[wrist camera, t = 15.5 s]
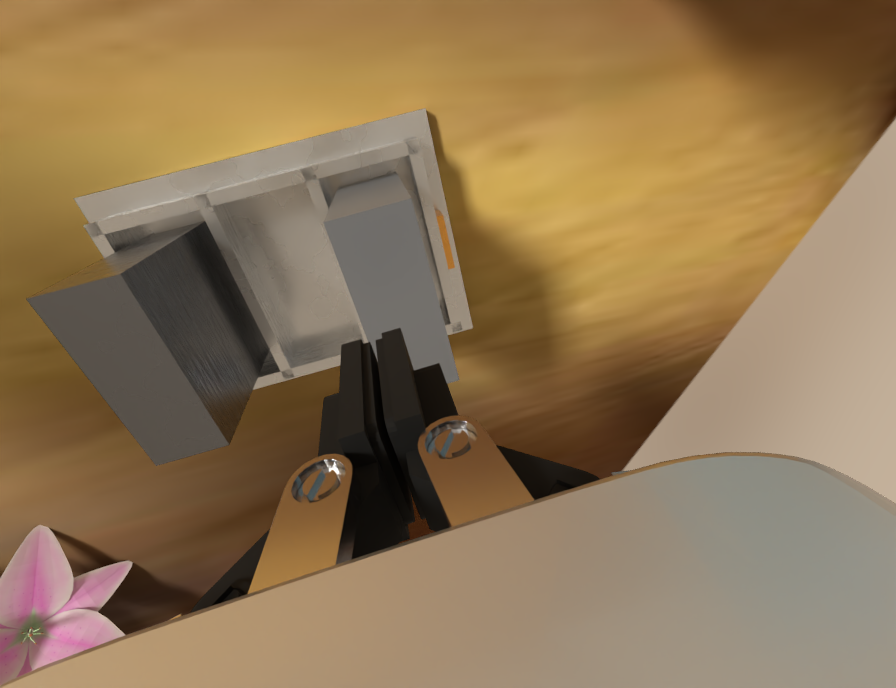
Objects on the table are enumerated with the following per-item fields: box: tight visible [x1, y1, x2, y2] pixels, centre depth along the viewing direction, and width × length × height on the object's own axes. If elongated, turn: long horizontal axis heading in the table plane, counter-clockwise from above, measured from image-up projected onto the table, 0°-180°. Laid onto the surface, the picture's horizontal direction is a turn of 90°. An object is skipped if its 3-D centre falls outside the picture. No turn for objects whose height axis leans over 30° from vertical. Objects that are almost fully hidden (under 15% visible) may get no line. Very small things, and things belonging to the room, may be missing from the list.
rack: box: [26, 109, 473, 466], centre depth 21 cm, size 13×18×10 cm
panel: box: [323, 172, 459, 384], centre depth 21 cm, size 8×3×9 cm, turn 14°
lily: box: [0, 525, 132, 685], centre depth 30 cm, size 12×12×10 cm
